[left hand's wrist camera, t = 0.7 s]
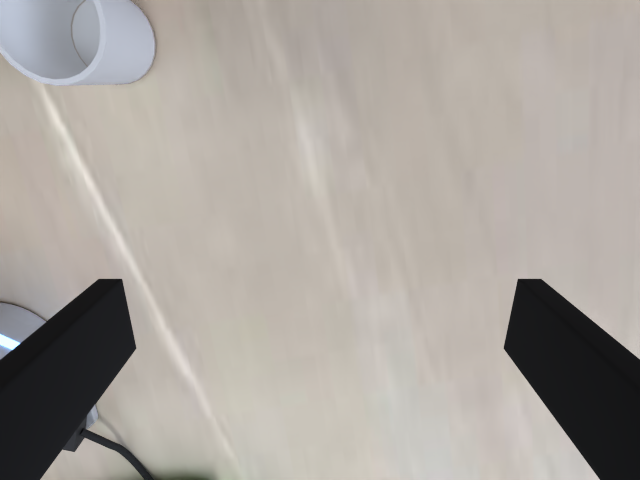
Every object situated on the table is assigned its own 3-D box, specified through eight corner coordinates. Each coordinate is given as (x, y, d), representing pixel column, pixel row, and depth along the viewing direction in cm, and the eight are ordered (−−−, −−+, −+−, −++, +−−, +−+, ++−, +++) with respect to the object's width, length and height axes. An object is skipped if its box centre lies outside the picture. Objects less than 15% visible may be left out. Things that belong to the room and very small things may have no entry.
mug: (139, 106, 39) (80, 109, 30) (56, 54, 38) (-35, 39, 28) (185, 5, 36) (137, -29, 27) (97, -57, 35) (11, -117, 25)
